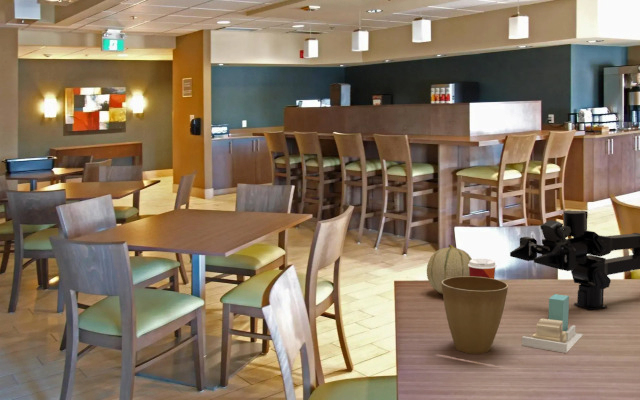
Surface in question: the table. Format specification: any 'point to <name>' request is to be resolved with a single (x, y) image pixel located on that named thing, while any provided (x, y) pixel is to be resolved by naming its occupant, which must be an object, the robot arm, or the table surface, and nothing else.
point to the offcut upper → (549, 328)
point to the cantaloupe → (447, 266)
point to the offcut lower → (560, 339)
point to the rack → (552, 345)
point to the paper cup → (482, 268)
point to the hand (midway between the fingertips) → (522, 257)
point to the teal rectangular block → (559, 309)
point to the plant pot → (474, 311)
